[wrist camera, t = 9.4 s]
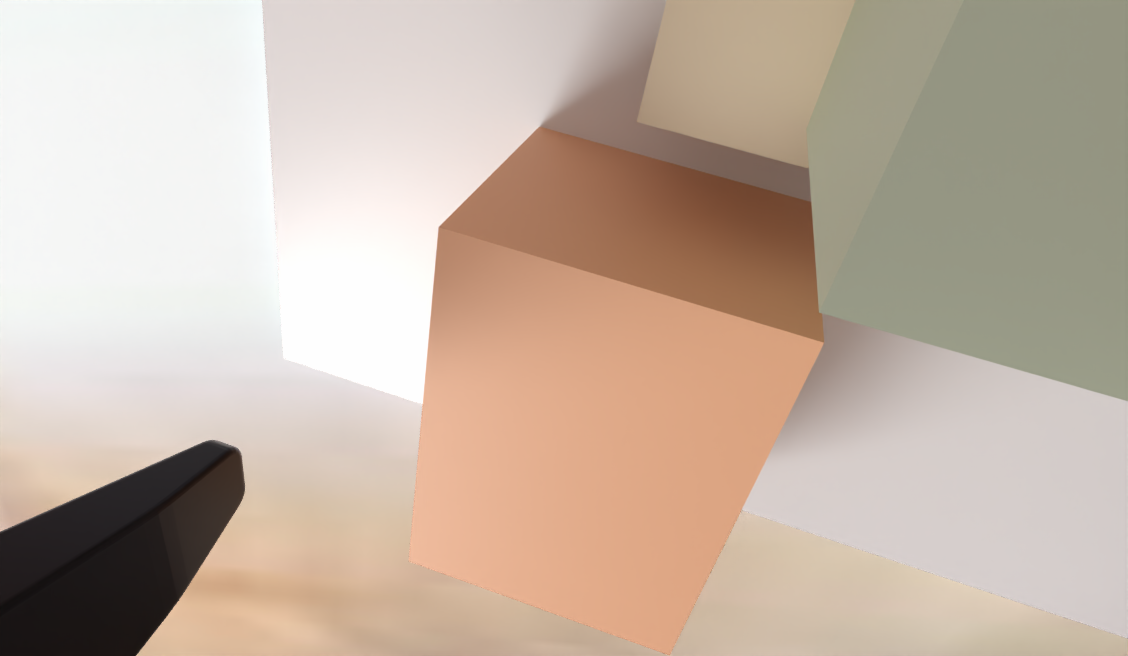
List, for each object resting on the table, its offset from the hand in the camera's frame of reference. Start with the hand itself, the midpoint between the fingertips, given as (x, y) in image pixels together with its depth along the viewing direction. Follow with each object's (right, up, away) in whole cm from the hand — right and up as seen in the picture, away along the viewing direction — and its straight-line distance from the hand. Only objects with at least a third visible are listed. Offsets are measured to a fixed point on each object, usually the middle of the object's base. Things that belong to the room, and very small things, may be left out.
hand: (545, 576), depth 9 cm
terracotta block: (+2, +3, +5) cm, 6 cm away
